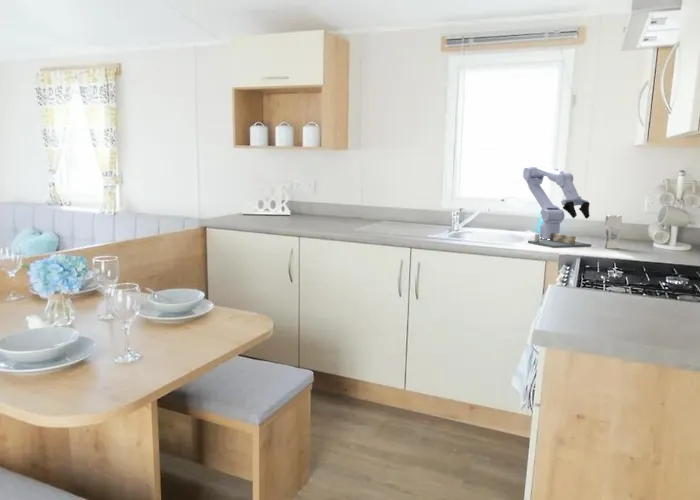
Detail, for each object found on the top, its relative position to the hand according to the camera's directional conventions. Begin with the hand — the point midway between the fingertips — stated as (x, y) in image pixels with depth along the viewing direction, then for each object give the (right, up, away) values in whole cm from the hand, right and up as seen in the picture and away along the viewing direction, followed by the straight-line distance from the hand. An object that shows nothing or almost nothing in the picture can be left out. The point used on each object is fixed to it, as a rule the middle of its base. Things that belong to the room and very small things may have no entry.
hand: (581, 217), depth 260 cm
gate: (-8, -12, +3) cm, 15 cm away
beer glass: (+11, -15, -6) cm, 20 cm away
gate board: (-9, -13, +4) cm, 16 cm away
